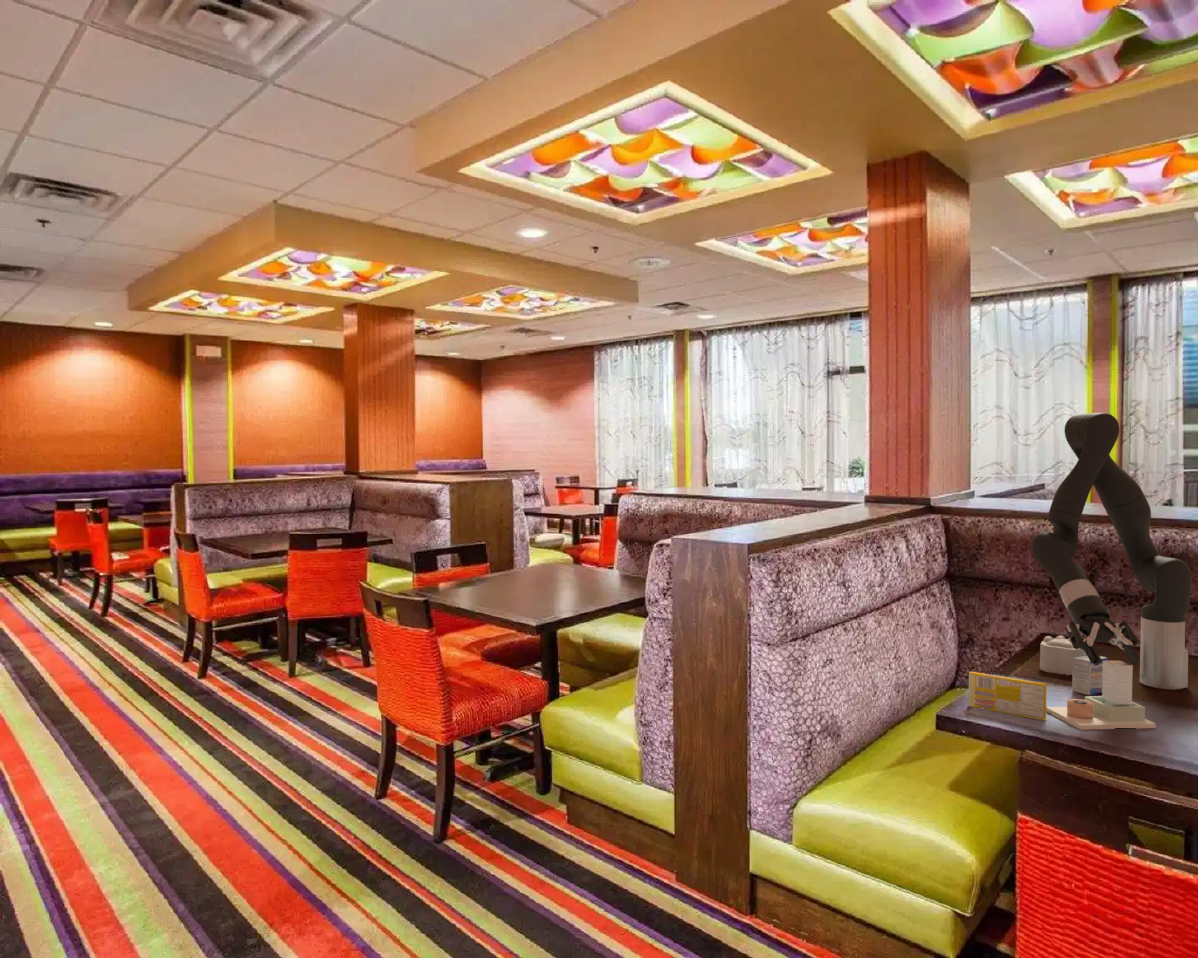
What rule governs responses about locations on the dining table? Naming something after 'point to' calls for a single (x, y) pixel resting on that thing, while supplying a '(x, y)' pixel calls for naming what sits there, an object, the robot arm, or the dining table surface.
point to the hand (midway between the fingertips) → (1116, 663)
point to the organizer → (1101, 714)
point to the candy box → (1007, 695)
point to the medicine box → (1087, 676)
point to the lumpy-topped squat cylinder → (1058, 655)
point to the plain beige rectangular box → (1117, 683)
